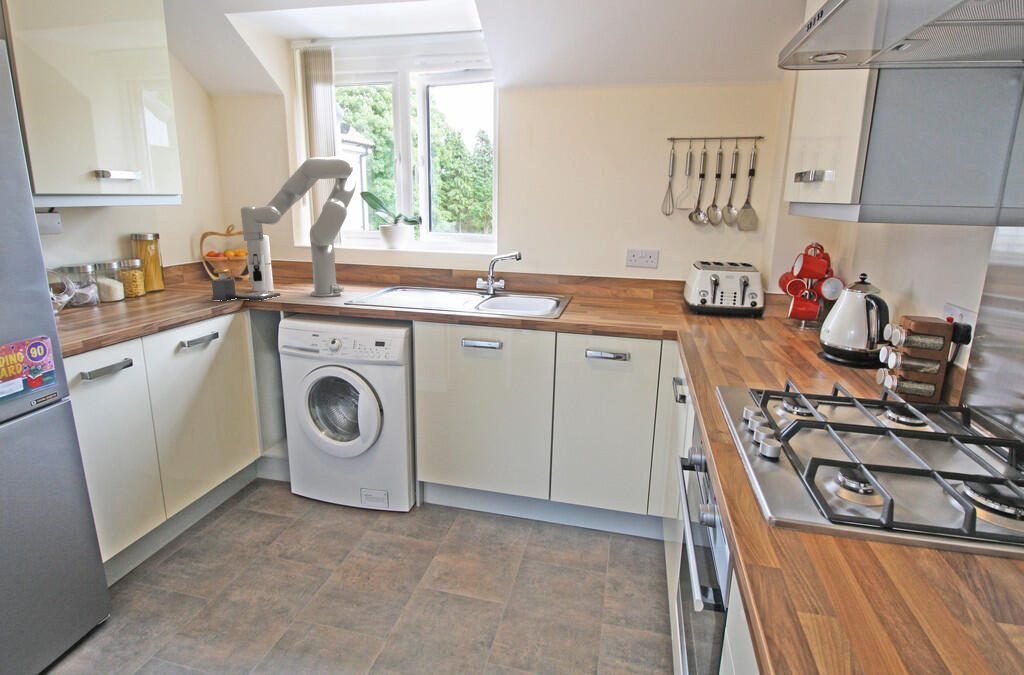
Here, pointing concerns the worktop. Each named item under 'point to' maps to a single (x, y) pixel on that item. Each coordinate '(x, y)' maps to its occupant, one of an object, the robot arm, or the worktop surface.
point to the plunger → (222, 273)
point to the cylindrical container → (267, 264)
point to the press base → (227, 291)
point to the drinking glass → (261, 284)
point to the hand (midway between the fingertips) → (257, 279)
